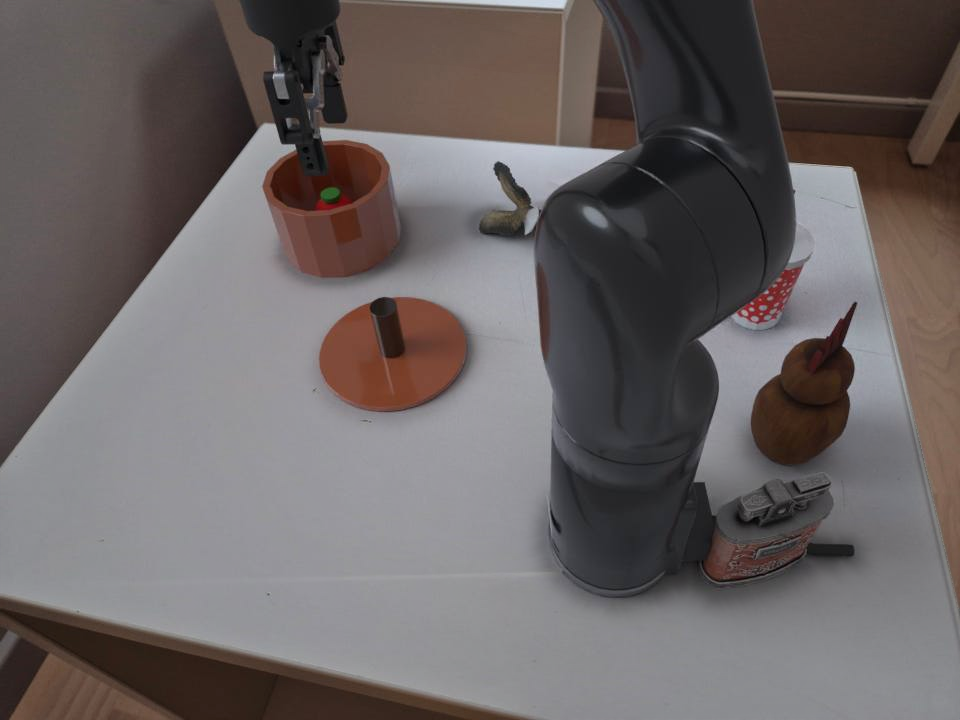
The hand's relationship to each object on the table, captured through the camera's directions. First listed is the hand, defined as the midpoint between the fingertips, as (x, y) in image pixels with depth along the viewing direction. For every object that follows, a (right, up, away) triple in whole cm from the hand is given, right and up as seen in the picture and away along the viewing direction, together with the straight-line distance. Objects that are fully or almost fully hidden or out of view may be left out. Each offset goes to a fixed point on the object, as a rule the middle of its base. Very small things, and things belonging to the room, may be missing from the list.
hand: (327, 146), depth 68 cm
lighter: (+34, -34, -14) cm, 50 cm away
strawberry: (-1, -6, +13) cm, 14 cm away
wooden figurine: (+39, -27, -7) cm, 48 cm away
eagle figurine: (+18, -5, +13) cm, 23 cm away
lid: (+6, -19, +1) cm, 20 cm away
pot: (-1, -7, +13) cm, 14 cm away
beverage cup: (+40, -15, +2) cm, 43 cm away
